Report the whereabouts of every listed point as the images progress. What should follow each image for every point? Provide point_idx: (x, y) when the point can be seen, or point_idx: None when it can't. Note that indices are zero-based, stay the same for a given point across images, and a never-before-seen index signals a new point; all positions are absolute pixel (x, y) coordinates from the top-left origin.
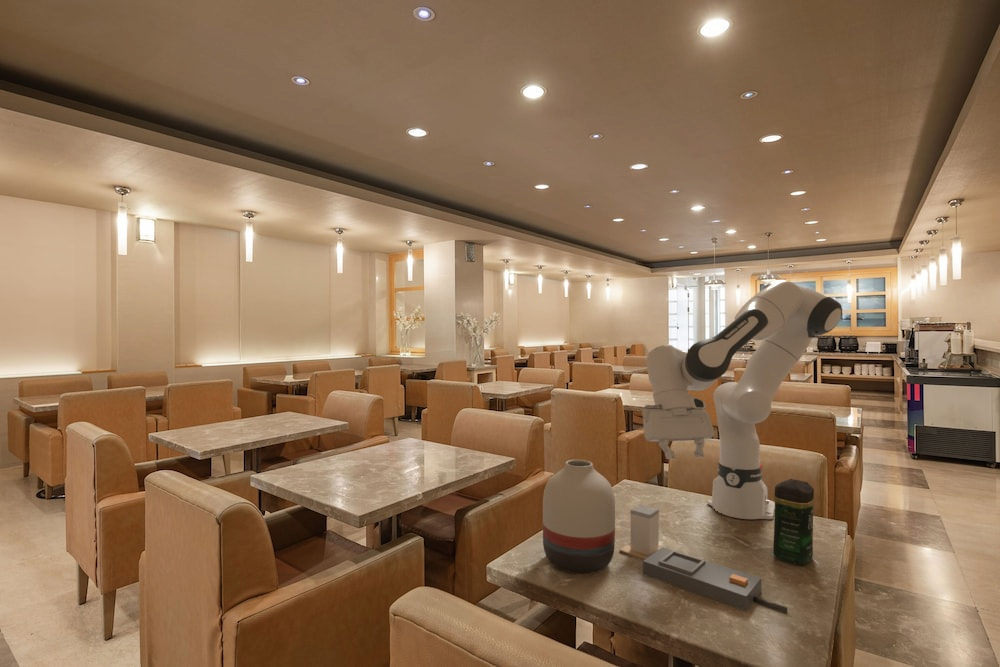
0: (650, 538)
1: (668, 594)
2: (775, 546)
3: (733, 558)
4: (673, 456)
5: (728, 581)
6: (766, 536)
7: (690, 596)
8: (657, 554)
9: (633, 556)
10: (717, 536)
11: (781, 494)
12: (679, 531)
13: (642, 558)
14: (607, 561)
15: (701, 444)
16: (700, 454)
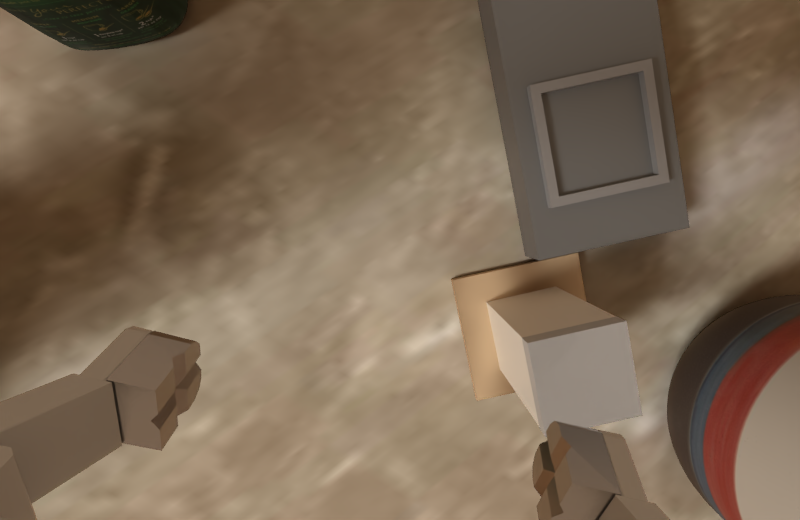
0: (570, 299)
1: (706, 98)
2: (165, 3)
3: (311, 117)
4: (584, 429)
5: None
6: (15, 149)
7: (665, 51)
8: (605, 230)
9: None
10: (186, 259)
11: None
12: (270, 367)
13: (583, 290)
14: (779, 296)
15: (20, 431)
16: (173, 345)
